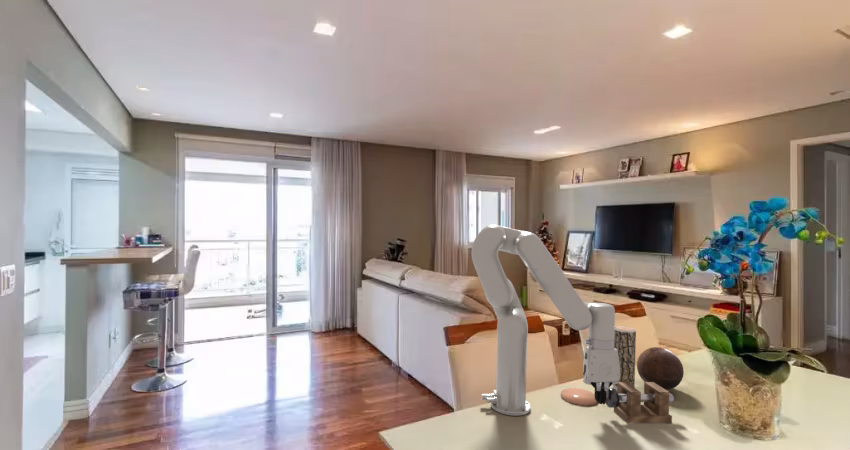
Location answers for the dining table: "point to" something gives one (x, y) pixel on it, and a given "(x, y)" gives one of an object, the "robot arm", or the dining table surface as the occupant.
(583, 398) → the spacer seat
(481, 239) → the robot arm
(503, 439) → the dining table surface
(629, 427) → the dining table surface
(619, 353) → the paper tube
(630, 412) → the bearing housing
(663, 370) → the wooden sphere
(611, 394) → the shaft
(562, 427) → the dining table surface
